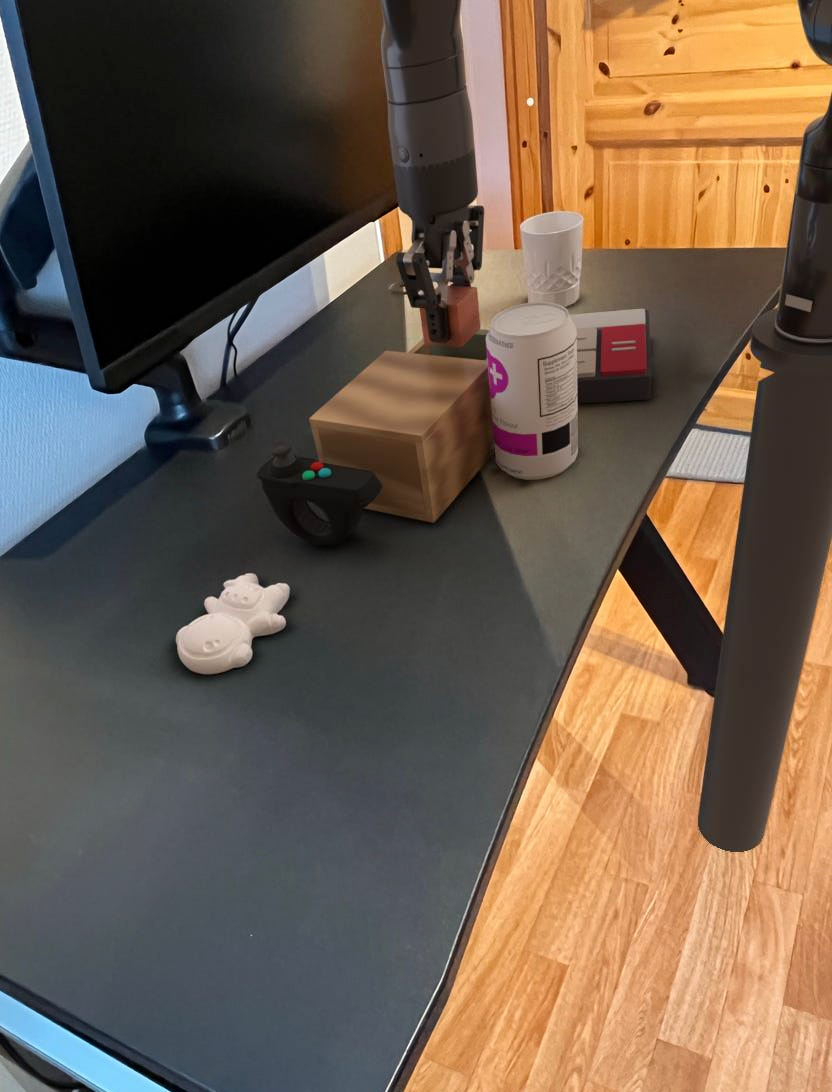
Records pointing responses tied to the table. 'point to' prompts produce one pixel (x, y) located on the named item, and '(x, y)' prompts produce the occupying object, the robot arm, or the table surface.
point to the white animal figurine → (232, 625)
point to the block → (458, 316)
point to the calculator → (613, 356)
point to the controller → (316, 495)
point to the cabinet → (411, 429)
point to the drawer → (457, 348)
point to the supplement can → (533, 389)
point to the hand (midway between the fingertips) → (452, 329)
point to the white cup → (552, 256)
